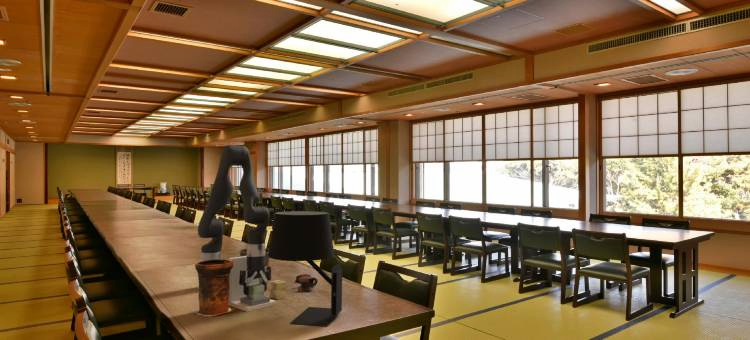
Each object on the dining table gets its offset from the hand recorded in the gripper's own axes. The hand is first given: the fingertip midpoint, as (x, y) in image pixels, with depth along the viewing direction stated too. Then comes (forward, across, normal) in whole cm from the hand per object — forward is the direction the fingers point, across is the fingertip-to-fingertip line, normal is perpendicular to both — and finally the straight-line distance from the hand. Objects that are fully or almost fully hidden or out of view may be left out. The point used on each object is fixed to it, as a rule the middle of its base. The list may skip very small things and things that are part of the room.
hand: (255, 293), depth 187 cm
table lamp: (+5, -5, +25) cm, 26 cm away
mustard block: (+5, -15, -4) cm, 16 cm away
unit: (+5, 0, -2) cm, 6 cm away
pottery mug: (+6, -33, -6) cm, 34 cm away
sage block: (+4, 0, 0) cm, 4 cm away
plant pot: (+6, -26, -37) cm, 46 cm away
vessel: (+6, +16, -5) cm, 18 cm away
